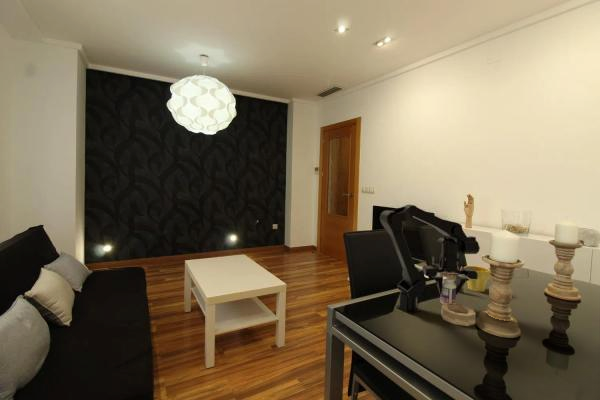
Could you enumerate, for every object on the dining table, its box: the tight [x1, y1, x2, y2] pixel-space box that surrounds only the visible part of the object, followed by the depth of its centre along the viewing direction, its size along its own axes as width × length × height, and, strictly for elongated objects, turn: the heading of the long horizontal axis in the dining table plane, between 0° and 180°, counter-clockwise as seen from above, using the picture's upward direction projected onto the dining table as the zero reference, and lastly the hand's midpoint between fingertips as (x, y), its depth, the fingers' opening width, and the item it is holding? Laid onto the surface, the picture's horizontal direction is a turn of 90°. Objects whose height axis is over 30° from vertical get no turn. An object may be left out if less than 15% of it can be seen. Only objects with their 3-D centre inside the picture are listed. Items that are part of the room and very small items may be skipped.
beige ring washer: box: [440, 303, 477, 327], centre depth 106 cm, size 10×10×4 cm
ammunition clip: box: [438, 266, 464, 294], centre depth 137 cm, size 11×2×12 cm, turn 45°
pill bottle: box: [439, 277, 457, 305], centre depth 116 cm, size 5×5×10 cm
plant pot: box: [463, 265, 491, 293], centre depth 138 cm, size 10×10×10 cm
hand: (448, 293), depth 116 cm, fingers closed on pill bottle, 5 cm apart
